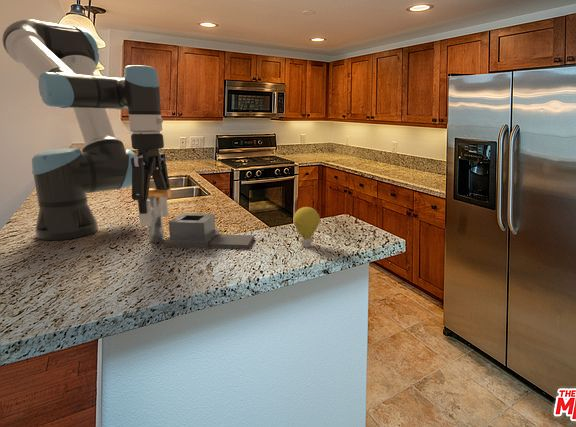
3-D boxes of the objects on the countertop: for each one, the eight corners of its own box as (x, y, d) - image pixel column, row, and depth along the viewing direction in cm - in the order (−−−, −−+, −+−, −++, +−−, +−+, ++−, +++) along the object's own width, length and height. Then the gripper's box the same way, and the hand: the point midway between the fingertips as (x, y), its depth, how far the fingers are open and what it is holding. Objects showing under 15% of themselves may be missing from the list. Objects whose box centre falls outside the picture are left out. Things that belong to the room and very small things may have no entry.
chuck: (166, 247, 92) (163, 222, 90) (181, 235, 102) (179, 212, 100) (208, 248, 91) (207, 223, 89) (219, 236, 101) (218, 213, 99)
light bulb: (303, 251, 89) (303, 211, 86) (288, 244, 94) (288, 206, 92) (324, 246, 92) (325, 208, 90) (309, 239, 98) (309, 203, 95)
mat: (208, 247, 92) (208, 243, 91) (217, 237, 99) (217, 234, 99) (248, 248, 91) (247, 245, 90) (254, 238, 98) (254, 235, 98)
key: (137, 241, 96) (131, 190, 93) (144, 237, 100) (138, 187, 96) (170, 242, 95) (166, 190, 92) (175, 238, 99) (171, 188, 95)
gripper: (139, 134, 80) (149, 232, 85) (178, 131, 101) (184, 210, 106) (107, 134, 80) (119, 232, 86) (152, 131, 101) (159, 210, 107)
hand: (155, 220), depth 96 cm, fingers open, 9 cm apart
